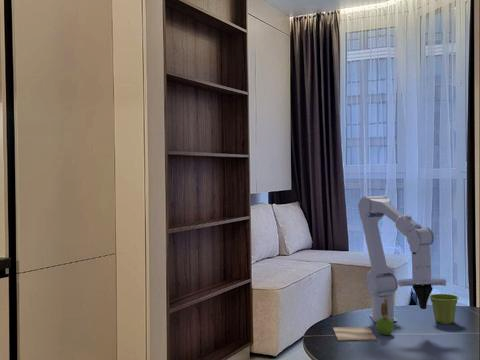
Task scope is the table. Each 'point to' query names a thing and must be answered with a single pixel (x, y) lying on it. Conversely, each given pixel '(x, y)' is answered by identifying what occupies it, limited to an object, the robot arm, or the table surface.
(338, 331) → the cork mat
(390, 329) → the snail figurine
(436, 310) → the plant pot
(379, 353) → the table surface
